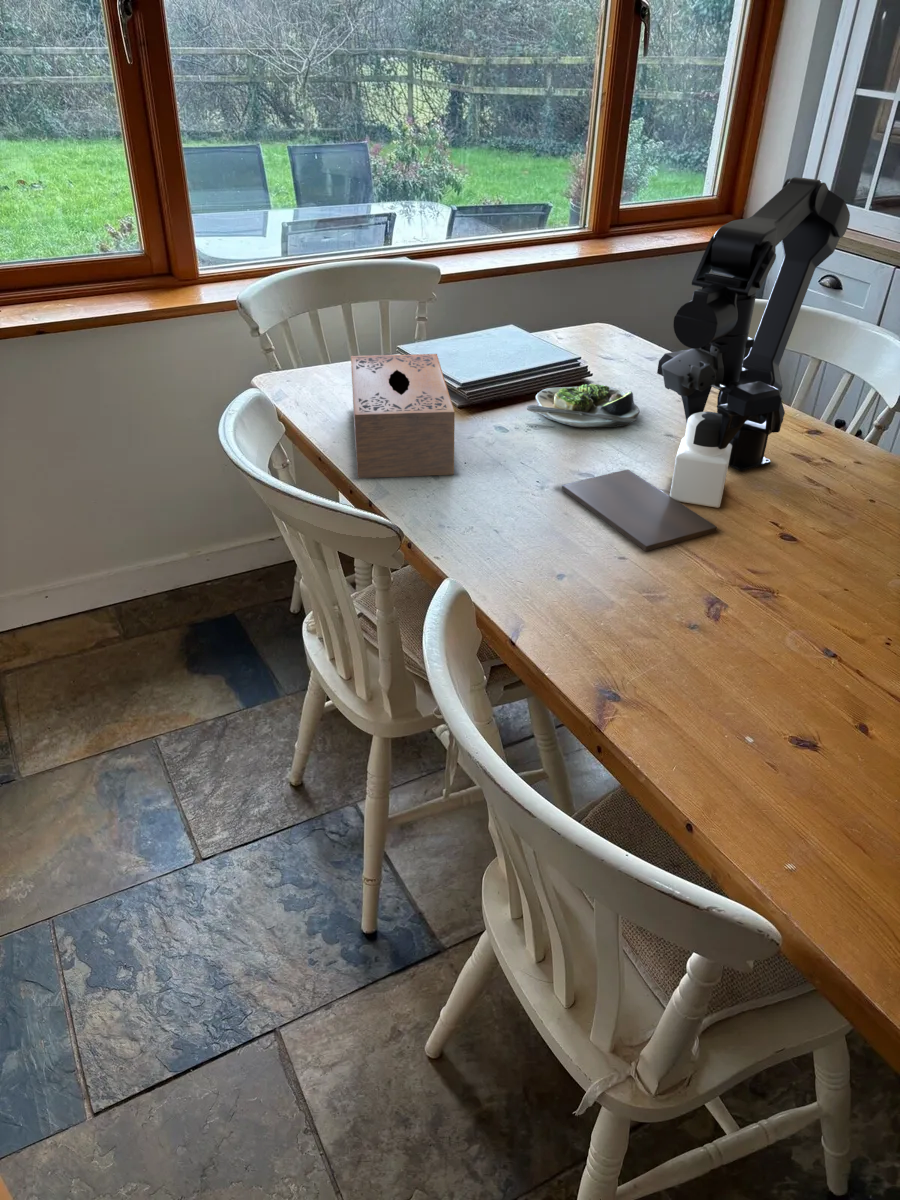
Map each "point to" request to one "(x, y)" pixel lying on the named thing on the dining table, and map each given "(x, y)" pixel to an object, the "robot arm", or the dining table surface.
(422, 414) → the tissue box cover
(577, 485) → the walnut mat
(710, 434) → the medicine bottle
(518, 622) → the dining table surface
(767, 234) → the robot arm
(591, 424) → the salad plate
